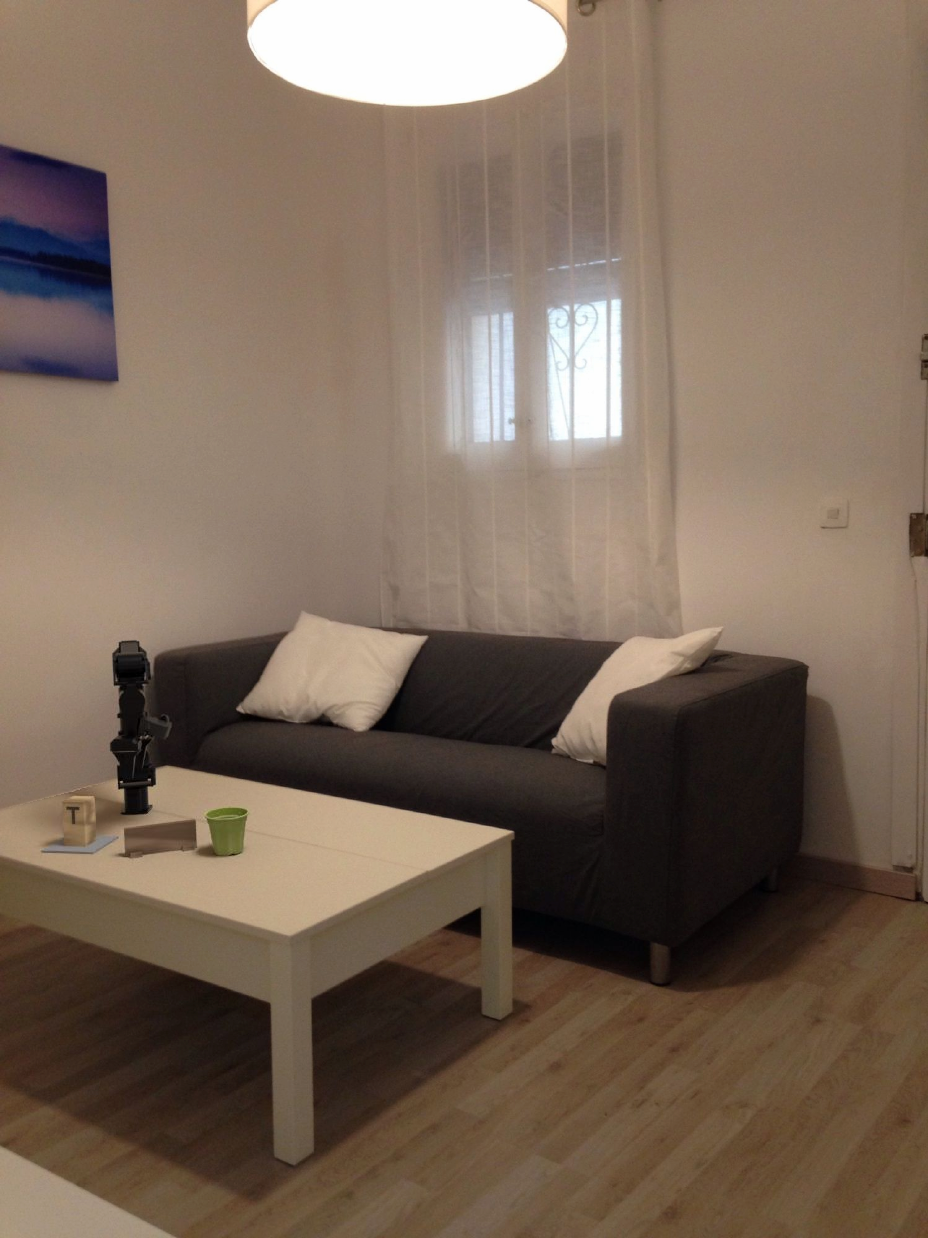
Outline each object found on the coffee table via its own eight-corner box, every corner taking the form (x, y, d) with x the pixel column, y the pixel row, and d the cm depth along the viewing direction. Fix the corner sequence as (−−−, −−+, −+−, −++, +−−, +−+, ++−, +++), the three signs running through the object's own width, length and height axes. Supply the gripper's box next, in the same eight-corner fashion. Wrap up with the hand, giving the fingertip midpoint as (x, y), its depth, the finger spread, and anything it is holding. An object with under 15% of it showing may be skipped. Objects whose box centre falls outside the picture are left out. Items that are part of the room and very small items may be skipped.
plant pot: (240, 859, 236) (238, 819, 235) (198, 857, 238) (197, 817, 237) (257, 846, 245) (256, 807, 244) (217, 844, 247) (215, 806, 246)
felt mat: (69, 836, 255) (69, 834, 255) (118, 837, 253) (118, 836, 253) (41, 852, 243) (41, 850, 243) (93, 854, 241) (93, 852, 241)
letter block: (75, 839, 251) (73, 795, 250) (96, 840, 250) (94, 796, 249) (64, 846, 246) (61, 801, 245) (85, 847, 245) (83, 802, 244)
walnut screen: (124, 853, 241) (123, 826, 240) (194, 844, 247) (193, 817, 247) (126, 858, 237) (125, 831, 237) (198, 849, 243) (196, 822, 243)
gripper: (158, 713, 248) (161, 782, 250) (175, 699, 267) (178, 764, 268) (107, 715, 248) (111, 784, 249) (128, 700, 266) (131, 765, 268)
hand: (135, 774), depth 259 cm, fingers open, 9 cm apart
